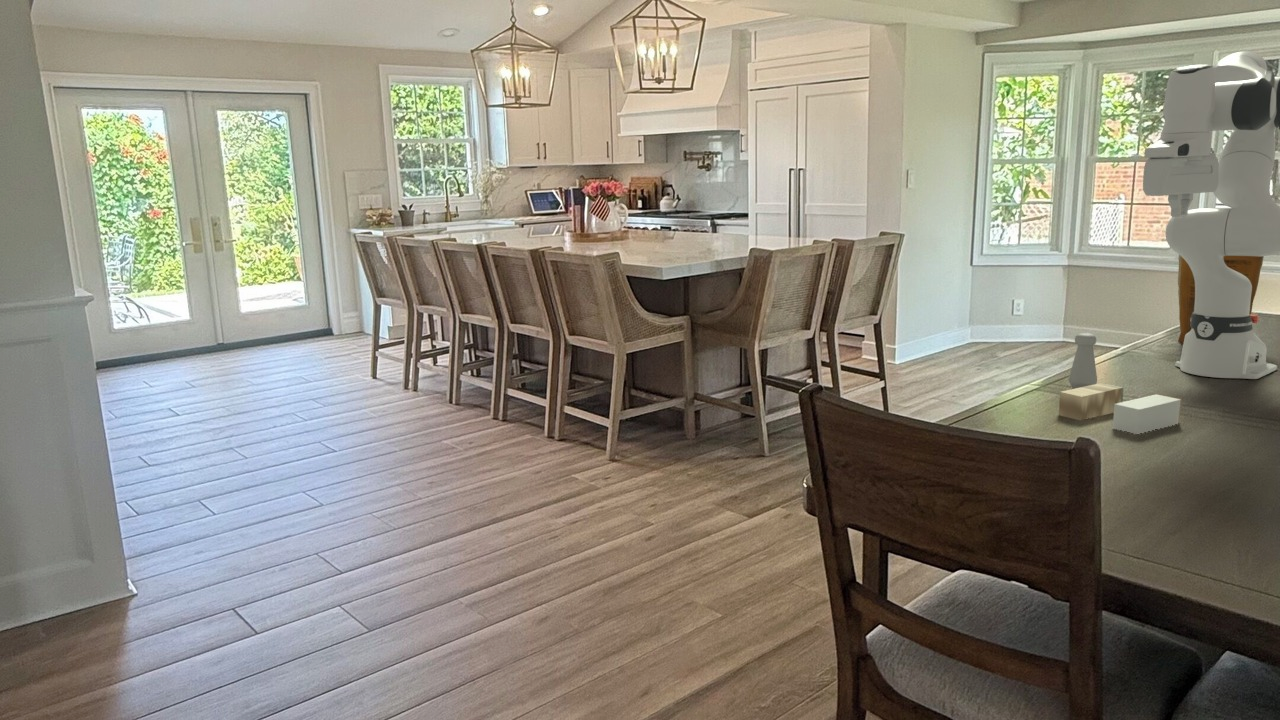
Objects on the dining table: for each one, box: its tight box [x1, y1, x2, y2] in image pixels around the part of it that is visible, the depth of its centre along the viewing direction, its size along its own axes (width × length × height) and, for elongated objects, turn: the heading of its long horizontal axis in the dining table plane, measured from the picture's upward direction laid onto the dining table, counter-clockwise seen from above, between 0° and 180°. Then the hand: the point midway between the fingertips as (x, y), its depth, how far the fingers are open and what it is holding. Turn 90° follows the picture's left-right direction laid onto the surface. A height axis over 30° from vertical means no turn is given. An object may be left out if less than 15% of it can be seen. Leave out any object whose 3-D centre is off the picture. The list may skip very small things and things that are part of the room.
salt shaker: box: [1068, 332, 1098, 389], centre depth 200 cm, size 6×6×13 cm
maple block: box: [1058, 382, 1125, 422], centre depth 183 cm, size 5×5×13 cm
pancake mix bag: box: [1177, 254, 1265, 344], centre depth 239 cm, size 7×19×28 cm, turn 53°
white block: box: [1112, 393, 1182, 435], centre depth 173 cm, size 5×5×13 cm
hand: (1178, 216), depth 183 cm, fingers closed
